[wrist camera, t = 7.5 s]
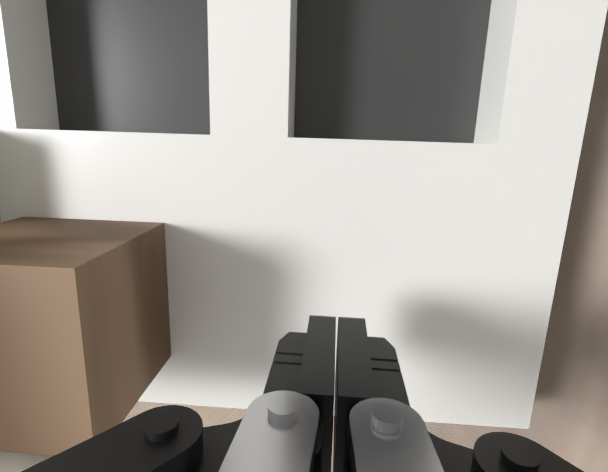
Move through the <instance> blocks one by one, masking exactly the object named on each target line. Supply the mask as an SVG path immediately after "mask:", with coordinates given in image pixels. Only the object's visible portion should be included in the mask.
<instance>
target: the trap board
mask: <svg viewBox="0 0 608 472" xmlns="http://www.w3.org/2000/svg"><path fill="white" fill-rule="evenodd" d="M607 9H608V0H0V223H1V222H5V221H9V220H13V219H17V218H21V217H42V218H65V219H89V220H112V221H135V222H158V223H164V225H165V244H166V263H167V282H168V301H169V320H170V339H171V356H170V358H169V359H168V361H167V362H166V363H165V365H164V366H163V367H162V369H161V370H160V371H159V373H158V374H157V375H156V377H155V378H154V379H153V381H152V382H151V384H150V385H149V386H148V388H147V389H146V390H145V392H144V393H143V394H142V396H141V397H140V398H139V400H138V401H143V402H157V403H171V404H185V405H199V406H213V407H227V408H241V409H247V408H248V406H249V405H250V403H251V402H252V401H253V400H255V399H256V398H257V397H259V396H261V395H263V392H264V389H265V385H266V382H267V379H268V375H269V372H270V369H271V365H272V363H273V358H274V355H275V352H276V348H277V345H278V342H279V340H280V339H281V338H283V337H284V336H285V335H286V334H287V333H288V332H301V333H307V328H308V322H309V316H310V315H316V316H332V317H336V340H335V370H336V350H337V330H338V317H350V318H365V322H366V329H367V336H368V337H382V338H385V339H386V340H387V341H388V342H389V343H390V344H391V345H392V346H393V347H394V348H395V350H396V354H397V358H398V362H399V365H400V369H401V373H402V377H403V381H404V384H405V388H406V392H407V396H408V400H409V404H410V407H411V408H413V409H414V410H415V411H416V412H417V413H418V414H419V415H420V416H421V417H422V419H423V421H424V422H437V423H452V424H466V425H480V426H494V427H508V428H522V429H529V425H530V420H531V414H532V409H533V404H534V398H535V393H536V388H537V382H538V377H539V372H540V366H541V361H542V356H543V350H544V345H545V340H546V334H547V329H548V324H549V318H550V313H551V308H552V302H553V297H554V292H555V286H556V281H557V276H558V270H559V265H560V260H561V254H562V249H563V244H564V238H565V233H566V228H567V222H568V217H569V212H570V206H571V201H572V196H573V190H574V185H575V180H576V174H577V169H578V164H579V158H580V153H581V148H582V142H583V137H584V132H585V126H586V121H587V116H588V110H589V105H590V100H591V94H592V89H593V83H594V78H595V73H596V67H597V62H598V57H599V51H600V46H601V41H602V35H603V30H604V25H605V19H606V14H607ZM334 402H335V390H334ZM333 415H334V414H333Z"/></svg>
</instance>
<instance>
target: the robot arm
mask: <svg viewBox="0 0 608 472" xmlns="http://www.w3.org/2000/svg"><path fill="white" fill-rule="evenodd" d="M335 340H336V317H332V316H316V315H310V316H309V322H308V328H307V333H301V332H288V333H287V334H286V335H285V336H284V337H283V338H281V339H280V340H279V342H278V345H277V348H276V352H275V355H274V358H273V363H272V365H271V369H270V372H269V375H268V379H267V382H266V385H265V389H264V392H263V395H261V396H259V397H257V398H256V399H255V400H253V401H252V402H251V403H250V405H249V406H248V408H247V410H246V412H245V415H244V417H243V418H242V419H240V420H238V421H235V422H232V423H228V424H223V425H216V426H210V427H203V423H202V419H201V417H200V416H199V414H198V413H197V412H195V411H194V410H192V409H190V408H188V407H184V406H177V405H169V406H161V407H156V408H153V409H150V410H148V411H145V412H143V413H141V414H139V415H137V416H135V417H133V418H131V419H129V420H127V421H125V422H123V423H120V424H118V425H116V426H114V427H112V428H110V429H108V430H106V431H104V432H102V433H100V434H98V435H96V436H94V437H92V438H90V439H88V440H86V441H83V442H81V443H79V444H77V445H75V446H73V447H71V448H69V449H67V450H65V451H63V452H61V453H59V454H57V455H55V456H53V457H51V458H49V459H47V460H44V461H42V462H40V463H38V464H36V465H34V466H32V467H30V468H28V469H26V470H24V471H22V472H331V454H332V434H333V414H334V455H333V472H583V471H582V470H580V469H579V468H577V467H575V466H574V465H572V464H570V463H569V462H567V461H566V460H564V459H562V458H561V457H559V456H558V455H556V454H554V453H553V452H551V451H549V450H548V449H546V448H545V447H543V446H541V445H540V444H538V443H536V442H534V441H532V440H530V439H528V438H525V437H522V436H519V435H516V434H512V433H506V432H491V433H487V434H484V435H482V436H481V437H479V438H478V439H477V441H476V442H475V445H474V450H473V449H470V448H466V447H463V446H460V445H457V444H454V443H450V442H448V441H445V440H442V439H440V438H438V437H436V436H434V435H433V434H431V433H429V432H428V431H427V428H426V426H425V423H424V421H423V419H422V417H421V416H420V415H419V414H418V413H417V412H416V411H415V410H414V409H413V408H411V407H410V404H409V400H408V396H407V392H406V388H405V384H404V381H403V377H402V373H401V369H400V365H399V362H398V358H397V354H396V350H395V348H394V347H393V346H392V345H391V344H390V343H389V342H388V341H387V340H386V339H385V338H382V337H368V336H367V329H366V322H365V318H350V317H338V330H337V350H336V370H335ZM334 390H335V402H334Z"/></svg>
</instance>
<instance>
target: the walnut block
mask: <svg viewBox="0 0 608 472" xmlns="http://www.w3.org/2000/svg"><path fill="white" fill-rule="evenodd" d="M170 356H171V339H170V320H169V301H168V282H167V263H166V244H165V225H164V223H158V222H135V221H112V220H89V219H65V218H42V217H21V218H17V219H13V220H9V221H5V222H1V223H0V451H5V452H18V453H31V454H44V455H57V454H59V453H61V452H63V451H65V450H67V449H69V448H71V447H73V446H75V445H77V444H79V443H81V442H83V441H86V440H88V439H90V438H92V437H94V436H96V435H98V434H100V433H102V432H104V431H106V430H108V429H110V428H112V427H114V426H116V425H118V424H120V423H122V421H123V420H124V419H125V417H126V416H127V415H128V413H129V412H130V411H131V409H132V408H133V407H134V405H135V404H136V402H137V401H138V400H139V398H140V397H141V396H142V394H143V393H144V392H145V390H146V389H147V388H148V386H149V385H150V384H151V382H152V381H153V379H154V378H155V377H156V375H157V374H158V373H159V371H160V370H161V369H162V367H163V366H164V365H165V363H166V362H167V361H168V359H169V358H170Z"/></svg>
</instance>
